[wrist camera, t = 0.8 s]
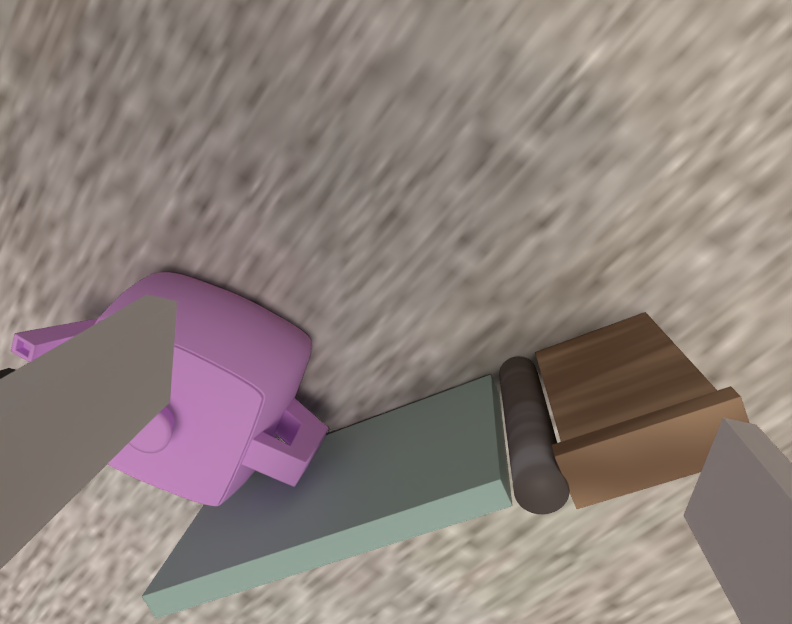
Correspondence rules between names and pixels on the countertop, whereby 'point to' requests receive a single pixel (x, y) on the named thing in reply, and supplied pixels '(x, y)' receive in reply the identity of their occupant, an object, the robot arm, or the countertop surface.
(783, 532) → the robot arm
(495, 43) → the countertop surface
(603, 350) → the doorframe
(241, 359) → the teapot
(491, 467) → the door
